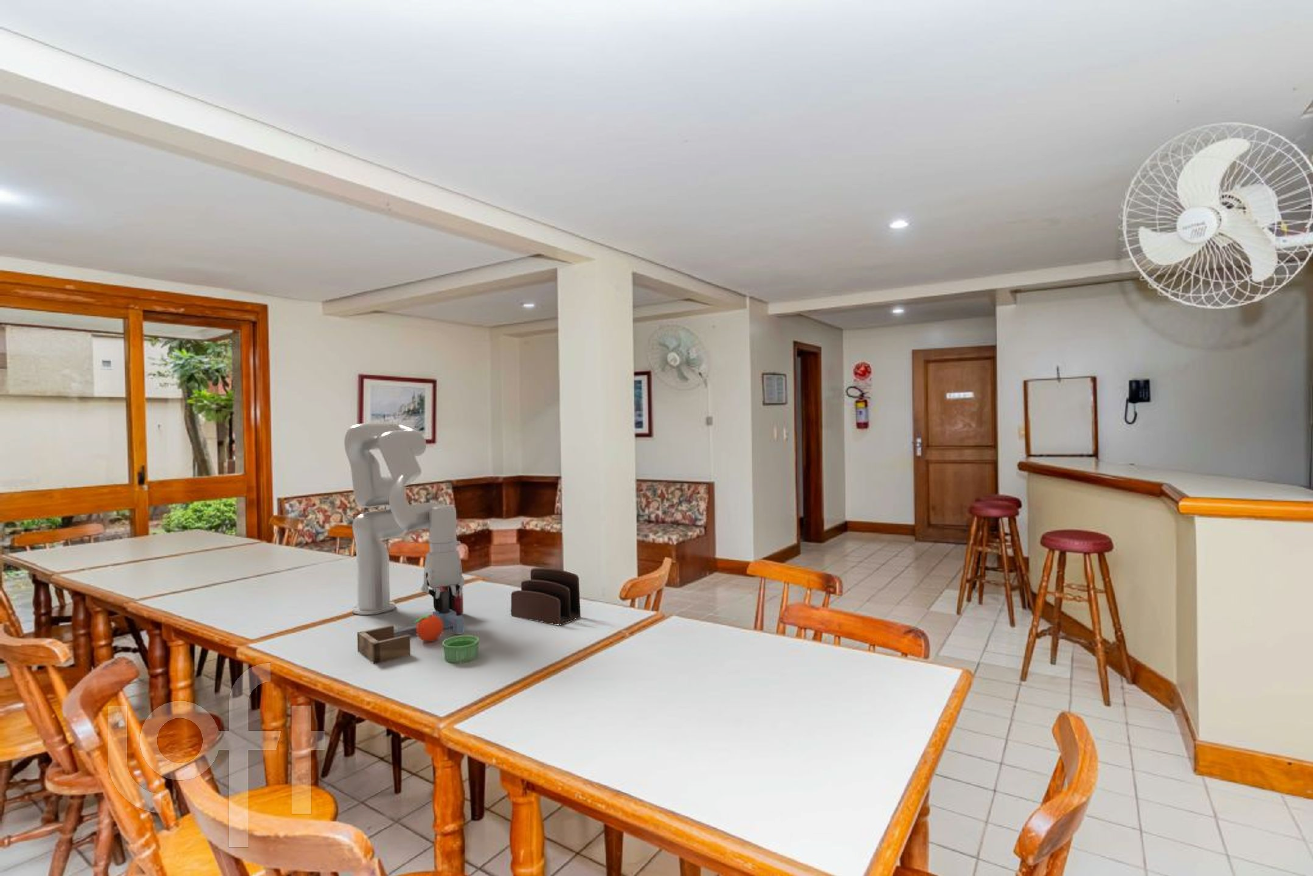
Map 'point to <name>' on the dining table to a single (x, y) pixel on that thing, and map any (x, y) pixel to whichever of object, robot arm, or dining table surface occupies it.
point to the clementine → (429, 628)
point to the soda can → (457, 600)
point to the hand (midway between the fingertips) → (444, 609)
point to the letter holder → (548, 596)
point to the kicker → (449, 614)
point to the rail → (405, 631)
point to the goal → (382, 644)
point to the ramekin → (460, 648)
